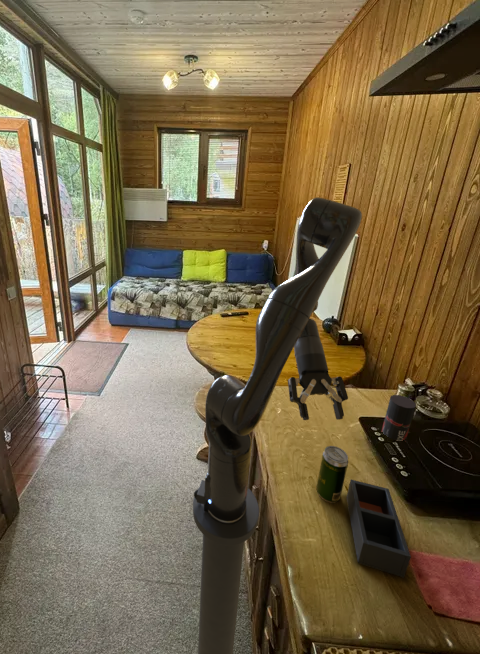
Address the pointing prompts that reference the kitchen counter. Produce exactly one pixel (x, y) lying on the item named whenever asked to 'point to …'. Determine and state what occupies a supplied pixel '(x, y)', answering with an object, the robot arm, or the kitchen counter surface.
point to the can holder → (377, 529)
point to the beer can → (332, 474)
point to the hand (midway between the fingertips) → (323, 419)
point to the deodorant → (398, 417)
